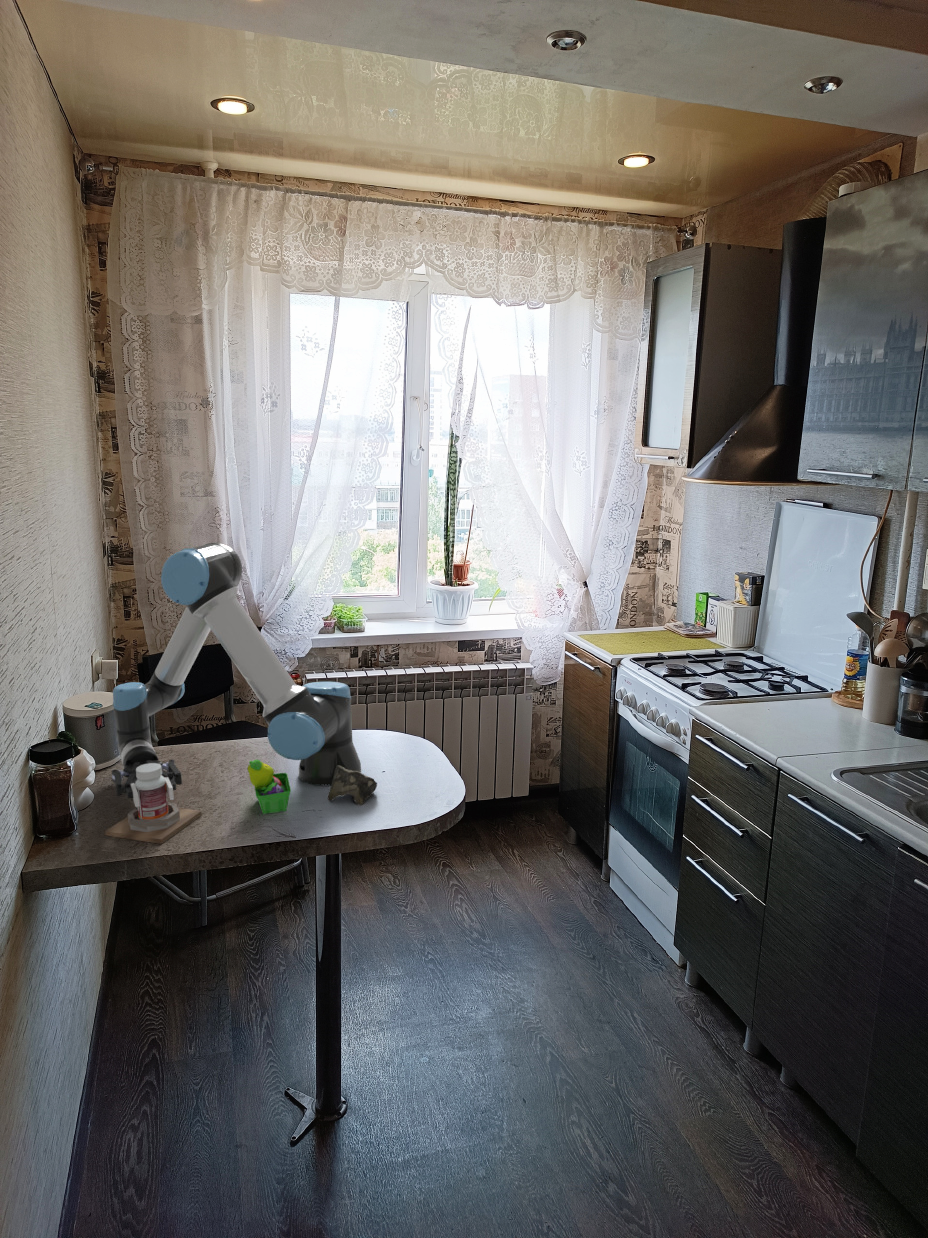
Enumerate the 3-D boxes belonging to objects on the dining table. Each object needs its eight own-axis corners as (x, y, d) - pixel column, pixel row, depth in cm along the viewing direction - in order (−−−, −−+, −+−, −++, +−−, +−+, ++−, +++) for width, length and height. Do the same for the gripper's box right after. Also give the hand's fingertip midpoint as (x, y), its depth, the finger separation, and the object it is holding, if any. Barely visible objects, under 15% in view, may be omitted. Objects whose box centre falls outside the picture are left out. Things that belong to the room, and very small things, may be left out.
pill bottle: (174, 815, 185) (170, 766, 183) (149, 825, 180) (144, 775, 178) (157, 808, 189) (153, 759, 186) (132, 818, 184) (127, 768, 181)
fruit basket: (292, 812, 190) (289, 764, 187) (251, 818, 187) (248, 770, 185) (288, 792, 201) (285, 747, 198) (249, 797, 198) (245, 751, 196)
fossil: (383, 785, 202) (377, 757, 196) (374, 817, 195) (368, 790, 189) (338, 782, 204) (331, 754, 197) (328, 813, 197) (321, 786, 190)
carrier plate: (201, 815, 189) (200, 802, 189) (161, 844, 176) (160, 830, 176) (148, 808, 193) (147, 795, 193) (105, 835, 180) (103, 822, 180)
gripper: (184, 768, 204) (202, 804, 184) (97, 784, 195) (107, 824, 175) (181, 738, 202) (199, 771, 182) (93, 753, 194) (103, 789, 174)
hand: (154, 797), depth 179 cm, fingers closed on pill bottle, 6 cm apart
